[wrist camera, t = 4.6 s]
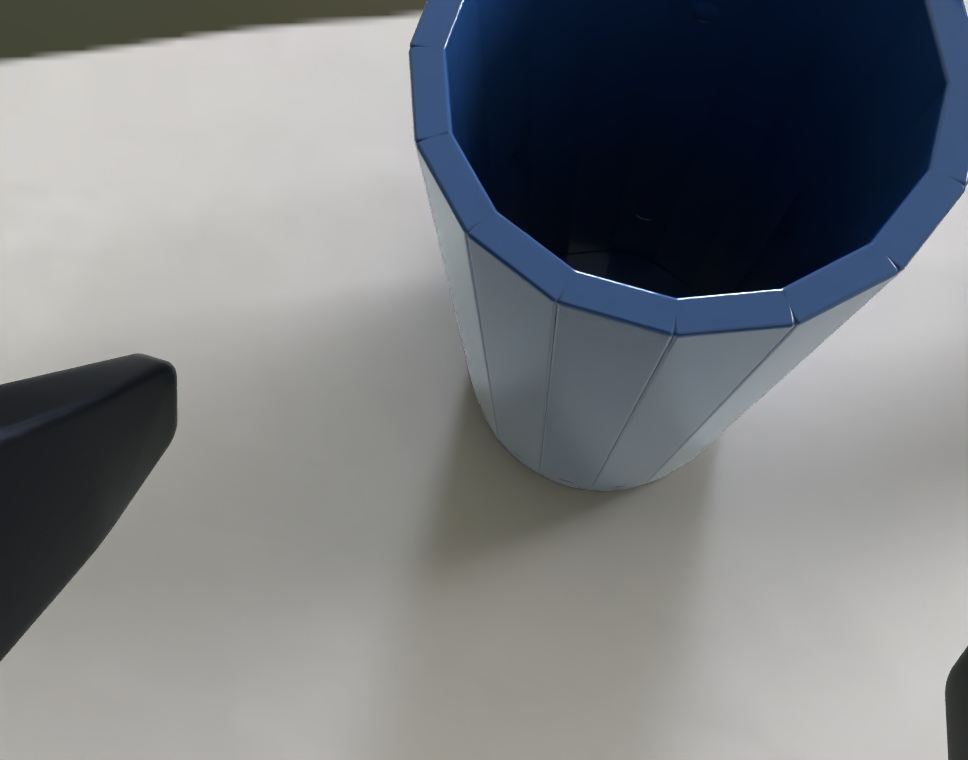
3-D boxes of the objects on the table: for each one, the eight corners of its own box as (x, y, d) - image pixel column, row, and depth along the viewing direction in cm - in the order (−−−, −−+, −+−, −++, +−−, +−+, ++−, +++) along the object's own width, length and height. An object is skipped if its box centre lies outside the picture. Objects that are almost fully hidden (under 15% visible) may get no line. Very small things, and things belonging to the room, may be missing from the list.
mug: (692, 525, 20) (925, 408, 8) (439, 446, 21) (330, 238, 9) (785, 164, 23) (1068, -320, 11) (556, 106, 24) (586, -404, 12)
